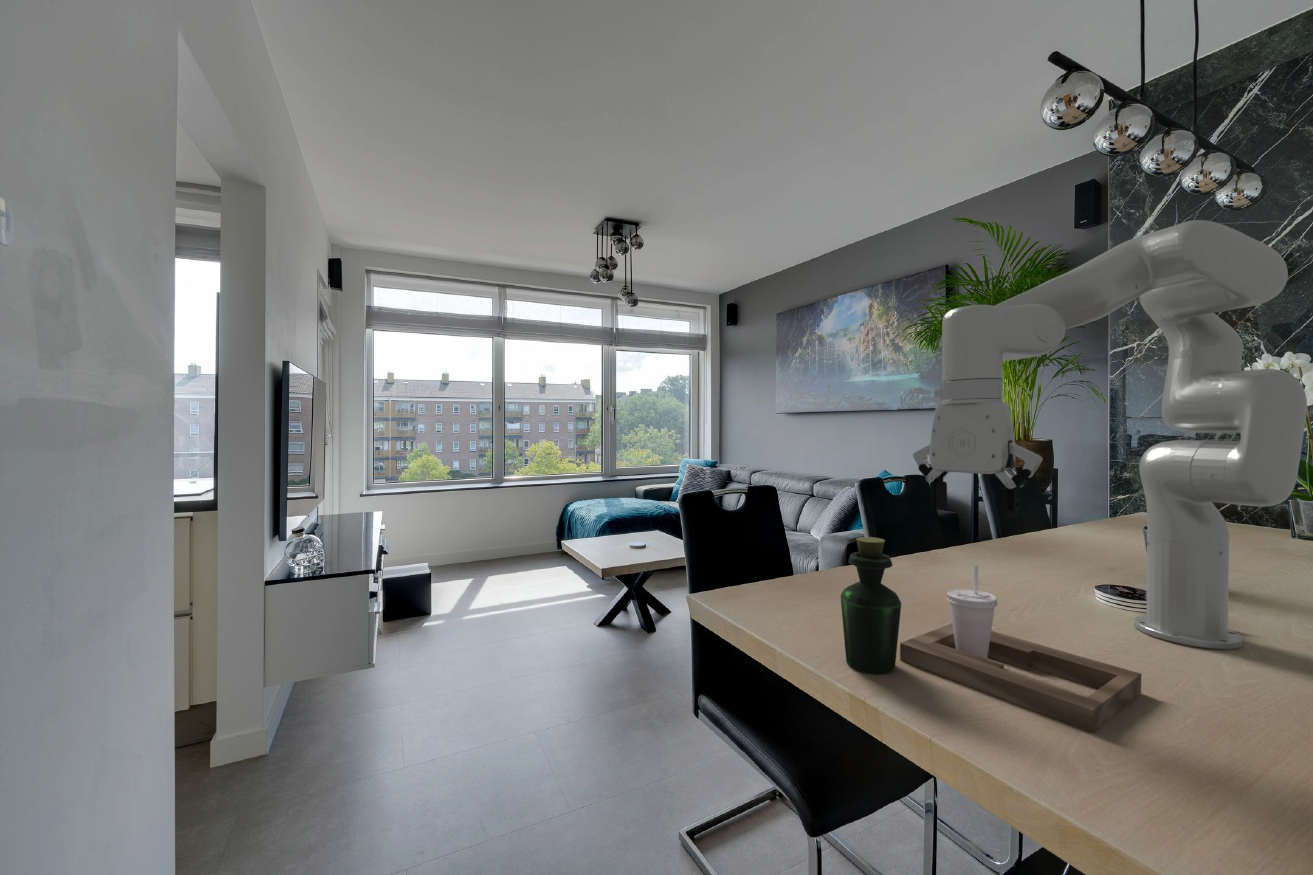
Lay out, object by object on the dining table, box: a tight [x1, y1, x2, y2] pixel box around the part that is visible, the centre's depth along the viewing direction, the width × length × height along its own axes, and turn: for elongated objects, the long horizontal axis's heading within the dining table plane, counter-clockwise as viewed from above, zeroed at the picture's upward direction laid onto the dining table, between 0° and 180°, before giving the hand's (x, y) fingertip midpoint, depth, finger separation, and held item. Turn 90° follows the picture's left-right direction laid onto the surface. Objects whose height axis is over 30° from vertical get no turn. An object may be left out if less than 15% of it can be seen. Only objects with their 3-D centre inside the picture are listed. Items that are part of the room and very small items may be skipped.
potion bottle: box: [840, 536, 902, 675], centre depth 78 cm, size 8×8×18 cm
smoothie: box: [946, 564, 998, 660], centre depth 79 cm, size 6×6×14 cm
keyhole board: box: [899, 622, 1142, 733], centre depth 74 cm, size 16×23×2 cm
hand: (972, 512), depth 79 cm, fingers open, 9 cm apart
